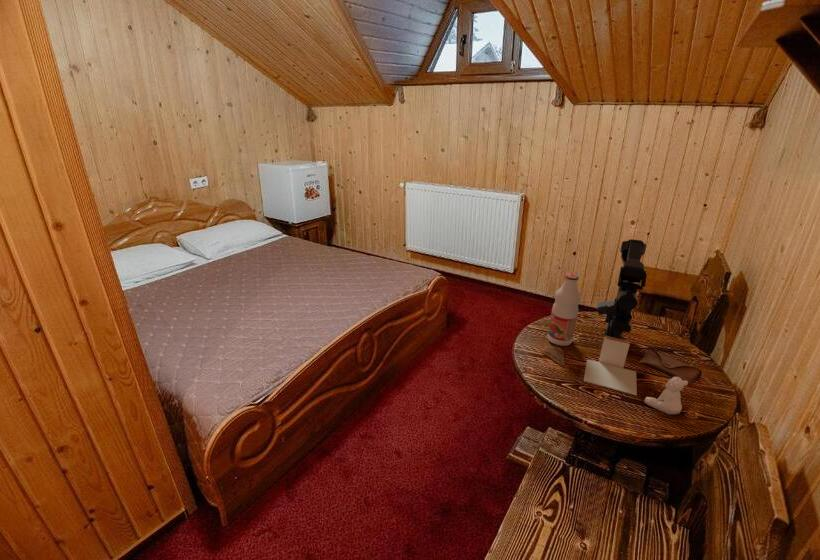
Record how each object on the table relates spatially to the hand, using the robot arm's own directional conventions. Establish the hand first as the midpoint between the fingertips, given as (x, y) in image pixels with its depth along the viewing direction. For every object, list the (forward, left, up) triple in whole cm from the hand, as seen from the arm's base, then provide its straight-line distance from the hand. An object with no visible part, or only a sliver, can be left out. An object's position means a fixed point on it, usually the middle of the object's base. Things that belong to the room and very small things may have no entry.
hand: (616, 336), depth 149 cm
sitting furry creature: (+25, +16, -8) cm, 31 cm away
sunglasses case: (+1, +18, -8) cm, 20 cm away
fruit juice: (-1, -19, -8) cm, 21 cm away
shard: (+11, -18, -8) cm, 23 cm away
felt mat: (+16, 0, -8) cm, 18 cm away
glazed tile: (+7, 0, -8) cm, 10 cm away
